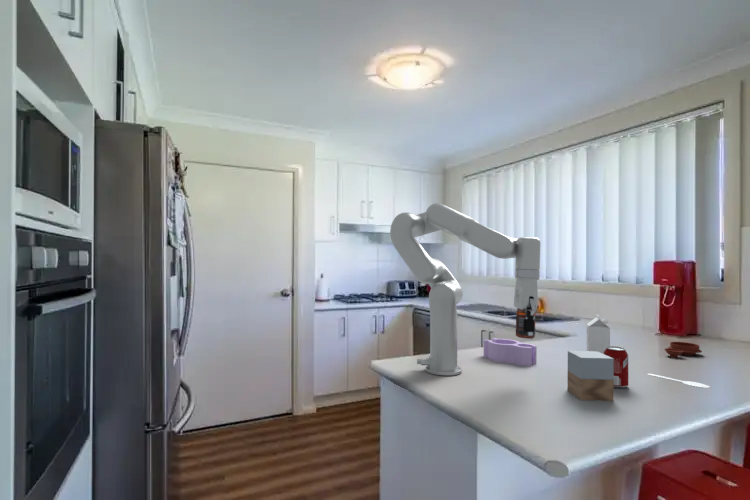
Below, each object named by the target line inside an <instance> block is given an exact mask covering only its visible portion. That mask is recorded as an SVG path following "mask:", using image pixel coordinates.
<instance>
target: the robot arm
mask: <svg viewBox="0 0 750 500" xmlns="http://www.w3.org/2000/svg"><path fill="white" fill-rule="evenodd" d="M438 231H442V232H444V233H445V234H448V235H450V236H452V237H454V238H455V239H458V240H460V241H463V242H464V243H467V244H470V245H471V246H473V247H474V248H477V249H479V250H481V251H483V252H485V253H487V254H489V255H492V256H493V257H495V258H497V259H514V258H515V263H514V264H515V265H514V266H515V269H514V279H516V280H515V287H514V296H513V297H514V298H513V306H514V308H516V309H520V310H524V313H525V319H524V326H523V331H524V332H534V319H535V312H537V309H538V295H539V294H538V292H539V291H538V281H540V273H541V272H540V270H541V269H540V268H541V267H540V266H541V240H540V238H538V237H534V236H523V237H518V238H516V237H509V236H508V235H505V234H502V233H501V232H499V231H496V230H494V229H493V228H490V227H488V226H486V225H485V224H482V223H480V222H479V221H478V220H476V219H475V218H472V217H471V216H469V215H466V214H465V213H462V212H459V211H457V210H456V209H453V208H451V207H449V206H447V205H445V204H442V203H441V202H440V203H439V202H436V203H432V204H430V205H429V206H427V208H426V210H425V212H422V213H418V214H414V213H412V212H401V213H398V214H397V215H396V216H395V217H394V218H393V220H392V222H391V226H390V231H389V234H390V241H391V243H392V245H393V248H394V249H395V250H396V252H397V254H398V255H400V257H401V258H402V260H403V261H404V263H405V264H406V266H407V267H408V268H409V271H410V272H411V273H412V274H413V276H415V277H414V278H416V280H417V281H419V283H422V284H426V285H427V284H428V286H429V287H430V291H429V293H428V303H429V304H428V306H429V315H430V316H429V320H430V323H429V326H430V327H429V328H430V330H429V336H430V338H429V339H430V344H429V345H430V346H429V351H430V352H429V355H428V358H427V357H426V358H424V359H423V358H417V359H416V365H420V366H425V371H426V372H427V373H429V374H432V375H437V376H442V377H443V376H444V377H445V376H451V377H452V376H457V375H460V374H461V373H462V372H463V371H462V369H463V368H462V367H460V366H458V309H457V304H459V303H460V302H461V300H462V299H463V292H464V291H463V288H462V287H461V285H460V284H459V282H458V281H457V279H456V278H455V277H454V275H453V274H452V273H451V271H450V270H449V269H448V268H447V266H446V265H445V264H444V263H443V262H442V261H441V260H439V259H438V258H435V257H431V256H430V255H429V253H428V252H427V251H426V250H425V248H424V246H423V245H422V244H421V243H420V242H419V241H418V240H417V239H416V238H417V237H418V238H419V237H421V236H425V235H429V234H431V233H434V232H435V233H436V232H438ZM526 308H530V309H526ZM527 312H528V314H527ZM535 320H536V319H535Z"/></svg>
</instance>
